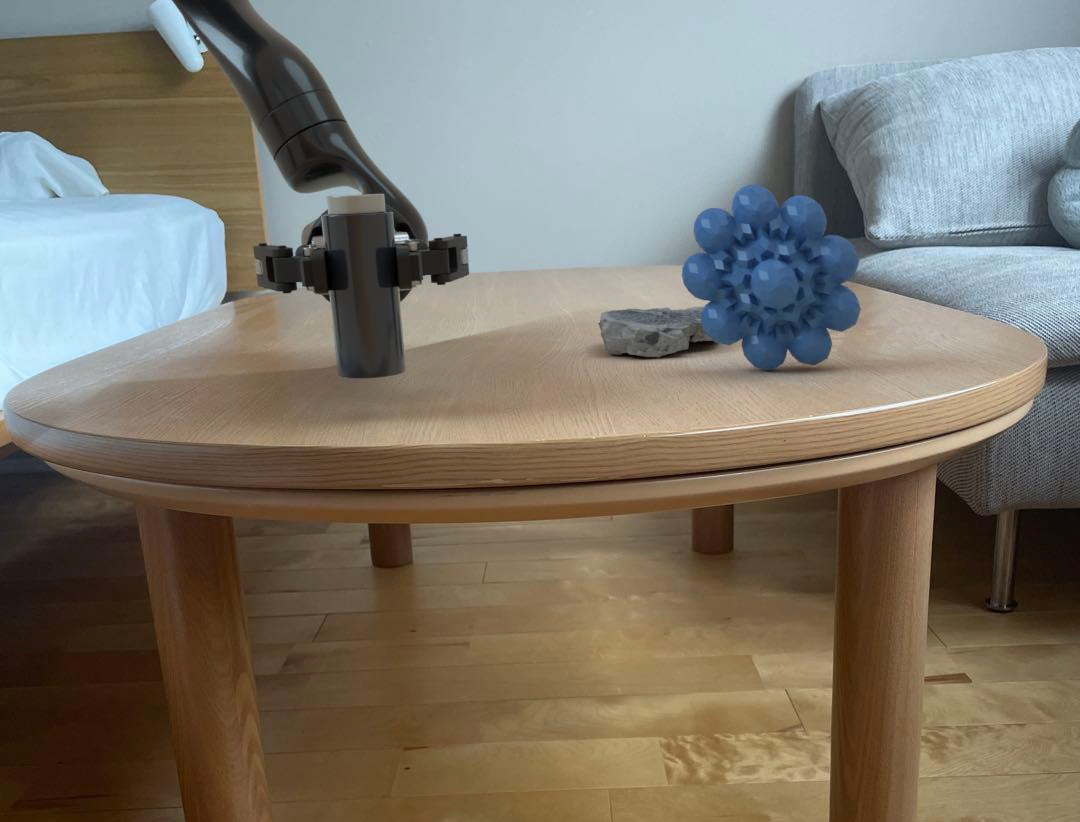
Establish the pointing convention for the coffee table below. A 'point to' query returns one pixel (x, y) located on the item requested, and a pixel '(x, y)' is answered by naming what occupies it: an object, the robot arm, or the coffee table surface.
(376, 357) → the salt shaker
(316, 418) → the coffee table surface
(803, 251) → the blue flower toy
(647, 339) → the fossil
